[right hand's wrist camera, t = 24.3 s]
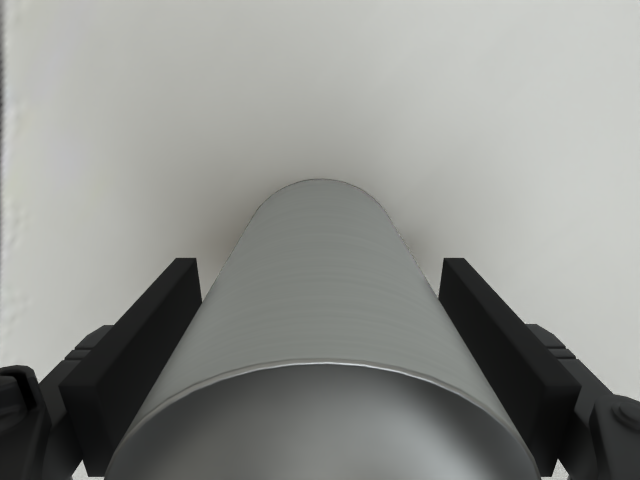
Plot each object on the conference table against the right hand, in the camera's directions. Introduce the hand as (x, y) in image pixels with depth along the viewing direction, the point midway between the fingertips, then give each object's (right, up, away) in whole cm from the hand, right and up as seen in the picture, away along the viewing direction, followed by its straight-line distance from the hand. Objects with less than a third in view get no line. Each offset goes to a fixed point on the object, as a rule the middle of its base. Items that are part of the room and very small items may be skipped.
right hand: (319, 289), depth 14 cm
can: (0, +1, +3) cm, 3 cm away
